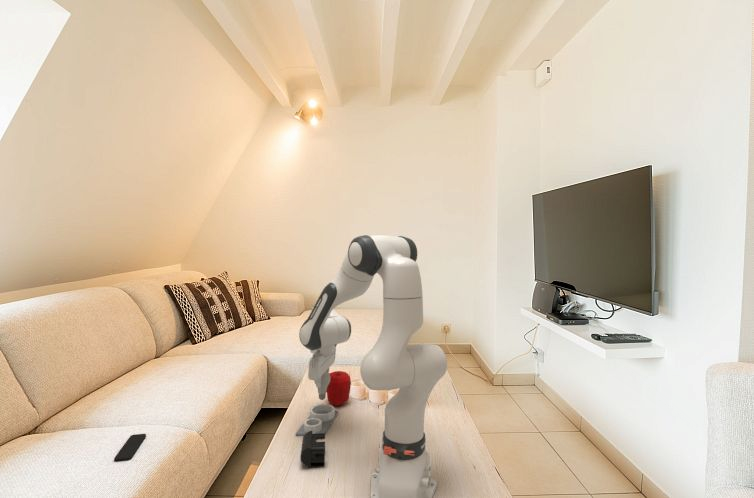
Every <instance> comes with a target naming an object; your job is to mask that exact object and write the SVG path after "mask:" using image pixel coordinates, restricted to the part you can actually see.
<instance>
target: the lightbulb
mask: <svg viewBox="0 0 754 498" xmlns="http://www.w3.org/2000/svg"><path fill="white" fill-rule="evenodd" d="M329 373H330V372H329ZM329 373H328V372H327V371H326V372H325V373H324V374H323V375H322V376H321V381H322V386H321V387H320V388H319V387H316V388H317V393H318V399H319V400H321V401H324V400H325V399H326V398H327V392H326V391H327V387H328V385H329V383H330V379H331V378H330V374H329ZM313 381H314V384H315V385H316V381H315V380H313Z"/></svg>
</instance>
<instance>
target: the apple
mask: <svg viewBox="0 0 754 498" xmlns="http://www.w3.org/2000/svg"><path fill="white" fill-rule="evenodd" d="M329 374H330V378H331V379H330V383H329V385H328V387H327V391H326V398H327V402H329V404H330V405H332V406H333V407H339V406H342V405H344V404H345V403H346V402H348V401H349V399H350V394H351V387H352V382H351V380H352V379H351V376H350V375H349V374H348V372H346V371H342V370H338V371H337V370H336V371H332V372H329Z"/></svg>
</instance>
